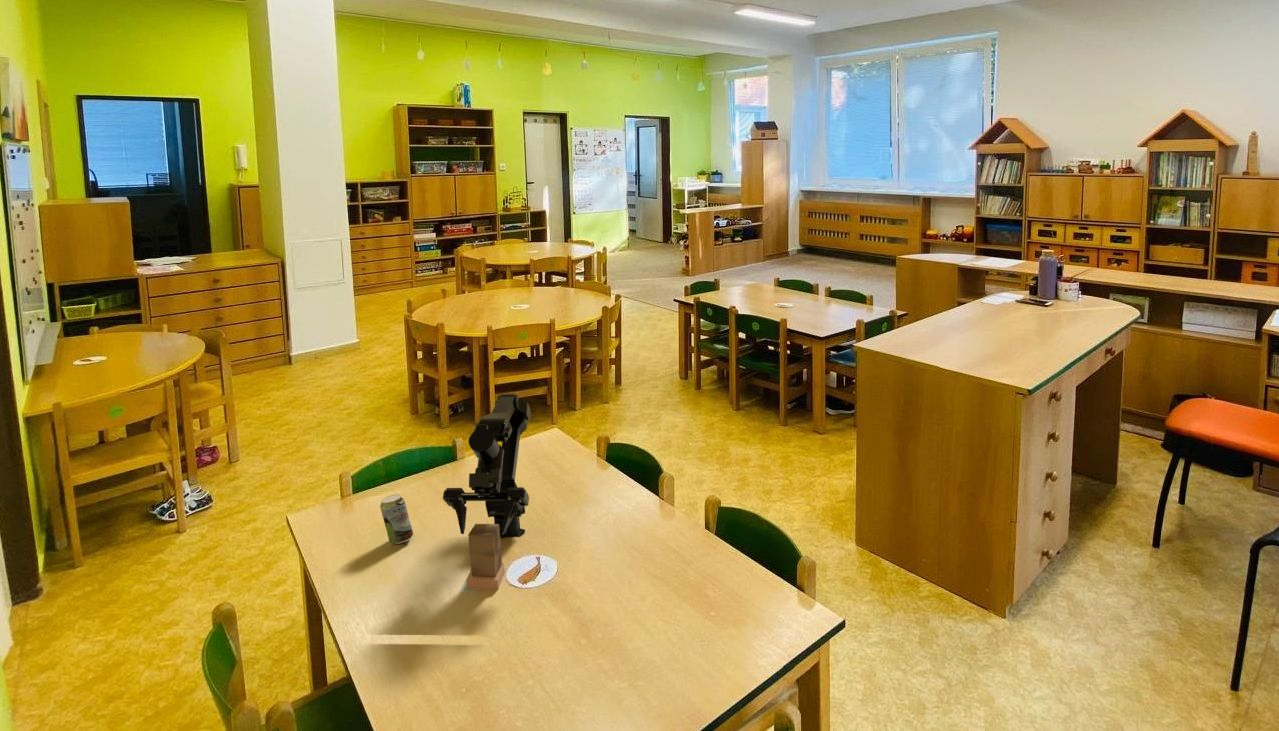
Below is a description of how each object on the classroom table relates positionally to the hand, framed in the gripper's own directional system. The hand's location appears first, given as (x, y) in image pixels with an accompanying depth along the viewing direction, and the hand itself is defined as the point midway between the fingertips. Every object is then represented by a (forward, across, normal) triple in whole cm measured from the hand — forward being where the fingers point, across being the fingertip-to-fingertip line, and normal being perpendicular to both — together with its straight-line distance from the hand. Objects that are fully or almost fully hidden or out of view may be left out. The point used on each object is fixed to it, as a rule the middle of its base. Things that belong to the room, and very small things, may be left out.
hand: (482, 533), depth 172 cm
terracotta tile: (+9, 0, +8) cm, 12 cm away
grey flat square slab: (+10, 0, +10) cm, 14 cm away
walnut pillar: (+6, 0, +6) cm, 9 cm away
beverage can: (-5, -28, +24) cm, 37 cm away
